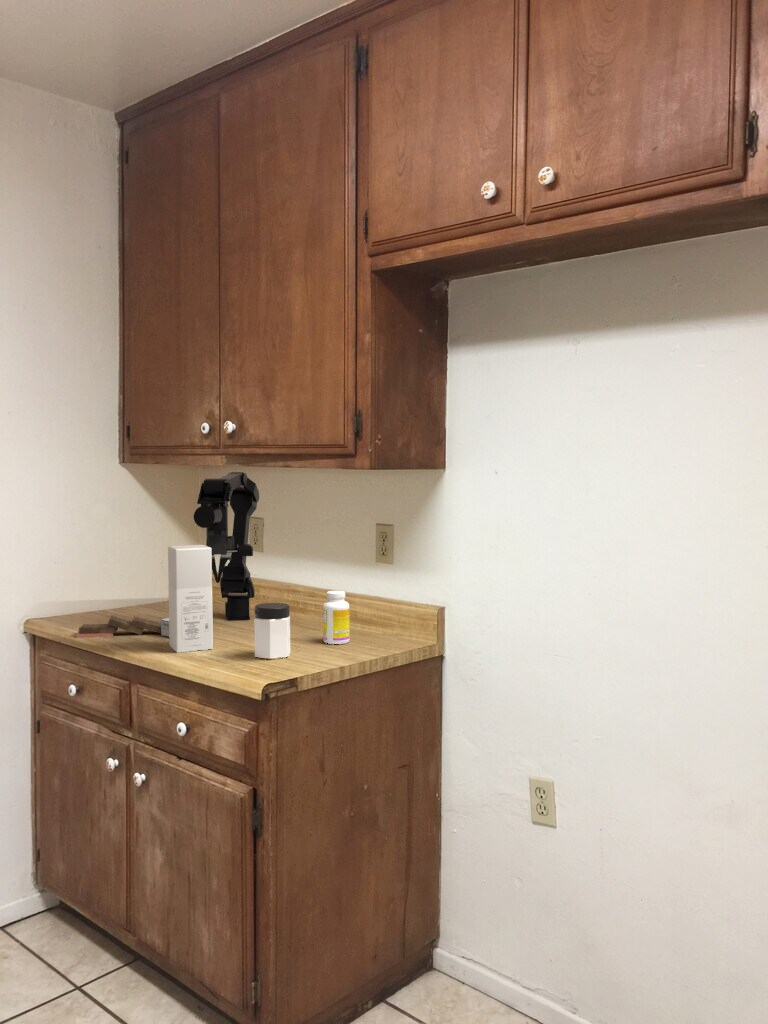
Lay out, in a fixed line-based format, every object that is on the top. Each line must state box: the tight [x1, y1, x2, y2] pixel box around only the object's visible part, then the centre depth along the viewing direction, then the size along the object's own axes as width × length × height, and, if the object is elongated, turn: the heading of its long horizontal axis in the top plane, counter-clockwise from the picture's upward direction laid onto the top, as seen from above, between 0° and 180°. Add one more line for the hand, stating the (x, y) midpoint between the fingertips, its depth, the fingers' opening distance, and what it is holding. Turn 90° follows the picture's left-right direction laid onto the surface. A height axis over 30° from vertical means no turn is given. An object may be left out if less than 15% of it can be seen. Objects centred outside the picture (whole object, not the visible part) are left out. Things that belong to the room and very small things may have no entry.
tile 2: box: [107, 615, 145, 636], centre depth 233 cm, size 2×5×9 cm
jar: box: [253, 602, 291, 658], centre depth 207 cm, size 9×8×12 cm
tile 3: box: [78, 623, 119, 634], centre depth 232 cm, size 2×5×9 cm
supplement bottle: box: [322, 590, 351, 645], centre depth 222 cm, size 7×7×13 cm
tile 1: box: [131, 616, 161, 634], centre depth 234 cm, size 2×5×9 cm
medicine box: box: [160, 617, 169, 638], centre depth 231 cm, size 8×4×9 cm
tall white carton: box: [167, 544, 214, 654], centre depth 215 cm, size 9×9×25 cm
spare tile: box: [76, 631, 115, 639], centre depth 232 cm, size 2×5×9 cm
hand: (217, 582), depth 237 cm, fingers closed
